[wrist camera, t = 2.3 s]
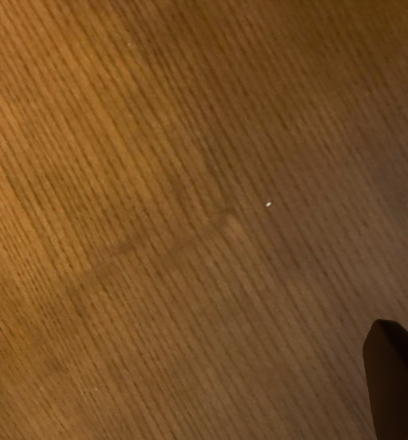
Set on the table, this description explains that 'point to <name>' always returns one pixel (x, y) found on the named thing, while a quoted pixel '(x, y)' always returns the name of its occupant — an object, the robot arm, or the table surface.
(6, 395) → the table surface
